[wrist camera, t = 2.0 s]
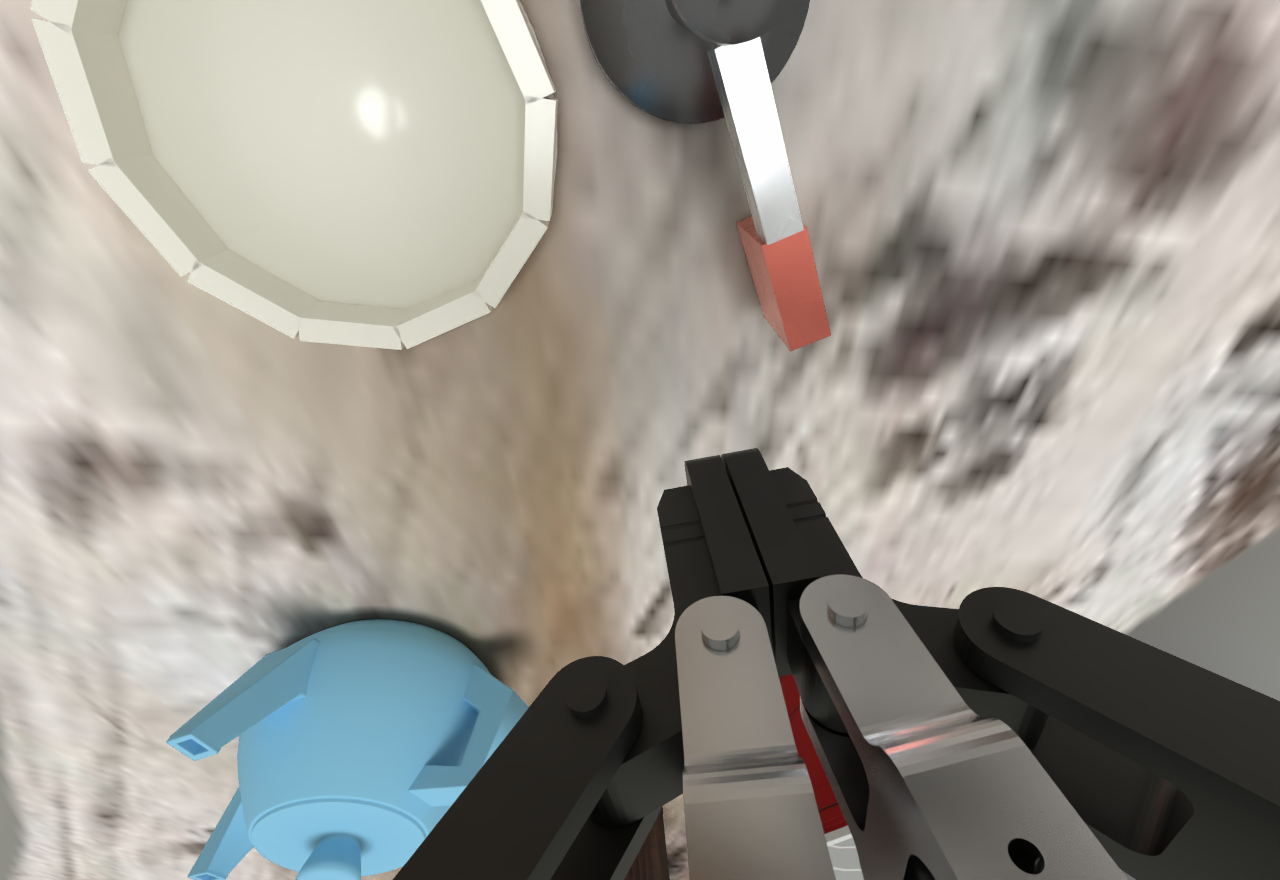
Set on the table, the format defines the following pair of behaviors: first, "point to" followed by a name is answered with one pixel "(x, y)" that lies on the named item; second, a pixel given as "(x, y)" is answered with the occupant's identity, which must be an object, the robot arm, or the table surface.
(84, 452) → the table surface
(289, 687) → the teapot
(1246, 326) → the table surface
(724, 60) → the crank
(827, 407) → the table surface
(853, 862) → the plastic cup
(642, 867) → the coffee grinder
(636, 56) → the base
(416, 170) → the dish
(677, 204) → the table surface
